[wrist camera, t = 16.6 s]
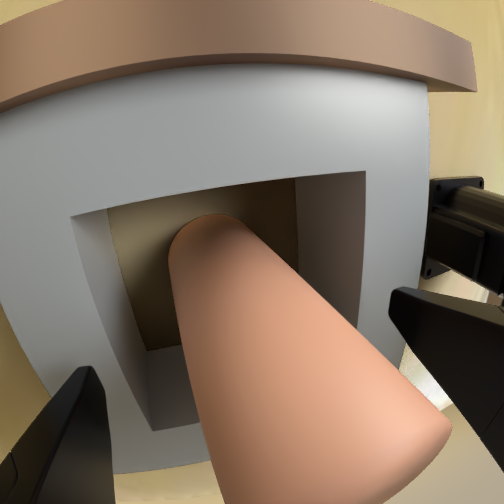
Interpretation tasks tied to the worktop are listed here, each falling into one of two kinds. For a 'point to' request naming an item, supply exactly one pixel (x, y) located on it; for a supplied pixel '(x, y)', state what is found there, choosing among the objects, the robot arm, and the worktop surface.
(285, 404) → the dowel
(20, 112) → the socket block
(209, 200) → the worktop surface
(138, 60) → the walnut wall
